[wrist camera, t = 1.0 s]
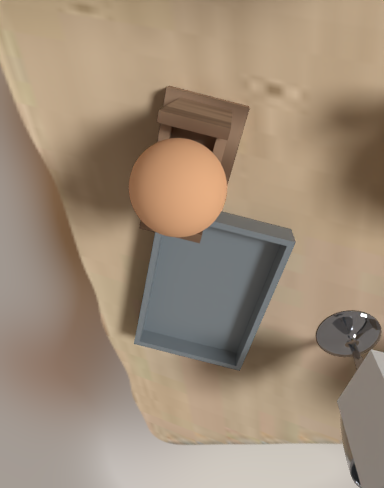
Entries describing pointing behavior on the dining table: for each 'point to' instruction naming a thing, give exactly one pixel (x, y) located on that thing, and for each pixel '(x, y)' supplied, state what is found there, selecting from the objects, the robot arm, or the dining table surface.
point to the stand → (202, 127)
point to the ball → (177, 187)
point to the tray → (212, 289)
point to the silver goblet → (349, 351)
